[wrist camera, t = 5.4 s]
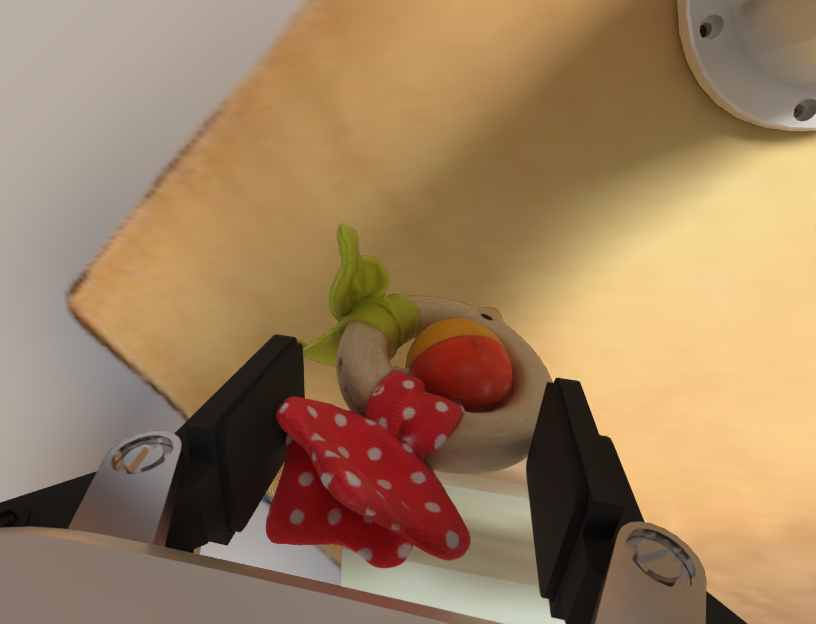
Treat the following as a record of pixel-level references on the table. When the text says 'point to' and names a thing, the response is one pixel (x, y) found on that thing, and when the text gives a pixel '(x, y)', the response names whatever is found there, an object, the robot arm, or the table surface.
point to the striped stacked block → (471, 556)
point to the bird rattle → (401, 419)
